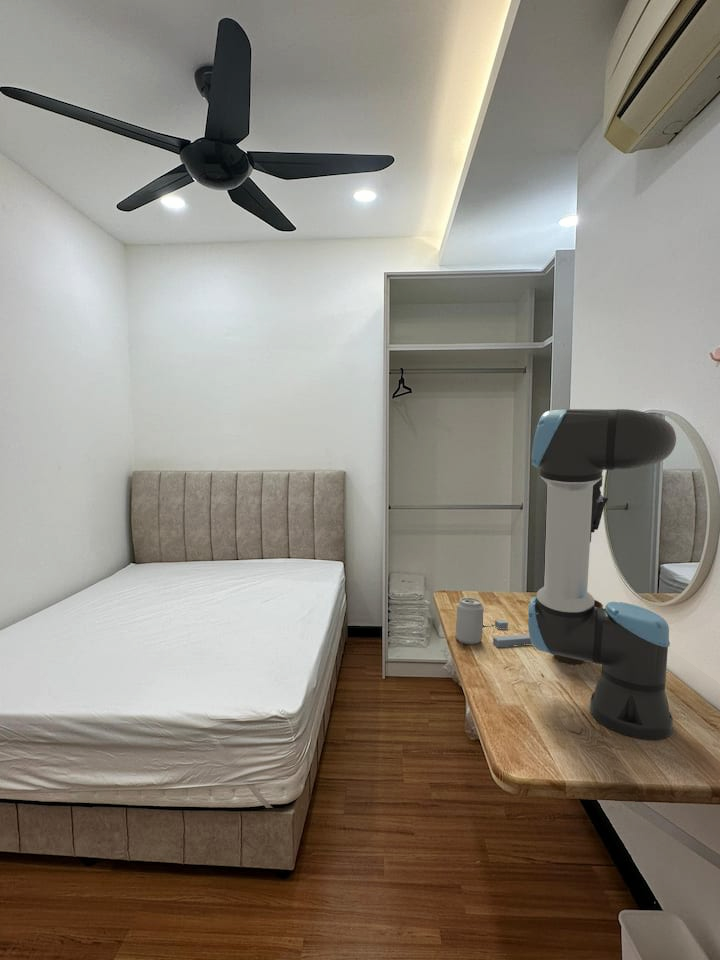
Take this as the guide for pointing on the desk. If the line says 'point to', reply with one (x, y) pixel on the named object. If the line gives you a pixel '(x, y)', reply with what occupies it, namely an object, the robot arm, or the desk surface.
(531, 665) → the desk surface
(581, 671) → the desk surface
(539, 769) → the desk surface
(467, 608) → the can
